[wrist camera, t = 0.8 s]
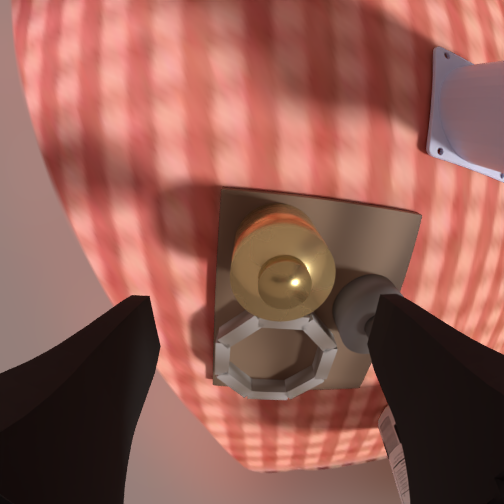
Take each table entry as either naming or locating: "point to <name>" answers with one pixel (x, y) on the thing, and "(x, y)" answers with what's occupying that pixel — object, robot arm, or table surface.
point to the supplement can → (394, 452)
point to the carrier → (326, 315)
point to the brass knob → (280, 264)
